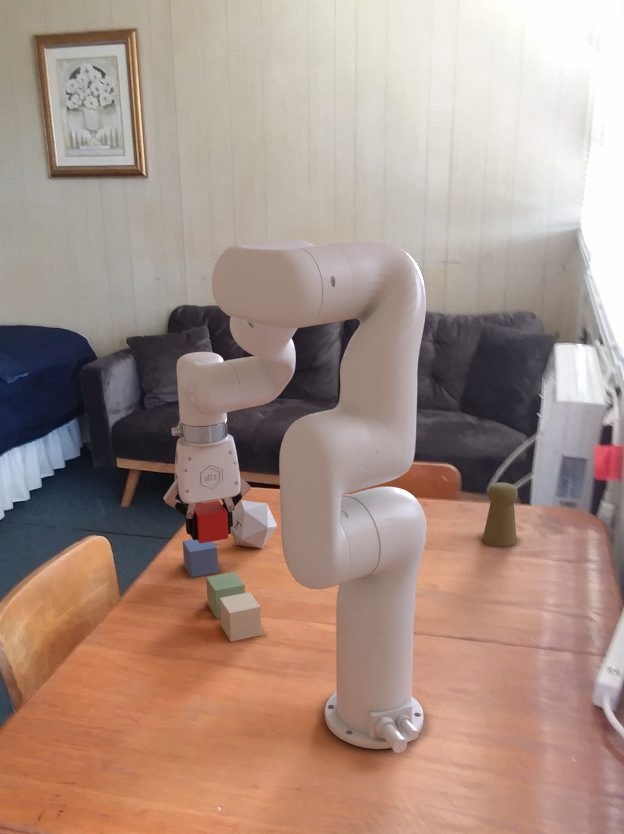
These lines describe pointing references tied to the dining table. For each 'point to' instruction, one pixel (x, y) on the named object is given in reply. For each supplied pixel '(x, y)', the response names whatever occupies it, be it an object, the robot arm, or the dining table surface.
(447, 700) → the dining table surface
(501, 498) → the cork
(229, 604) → the cream block
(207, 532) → the red block
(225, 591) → the sage block
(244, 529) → the die
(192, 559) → the blue block
